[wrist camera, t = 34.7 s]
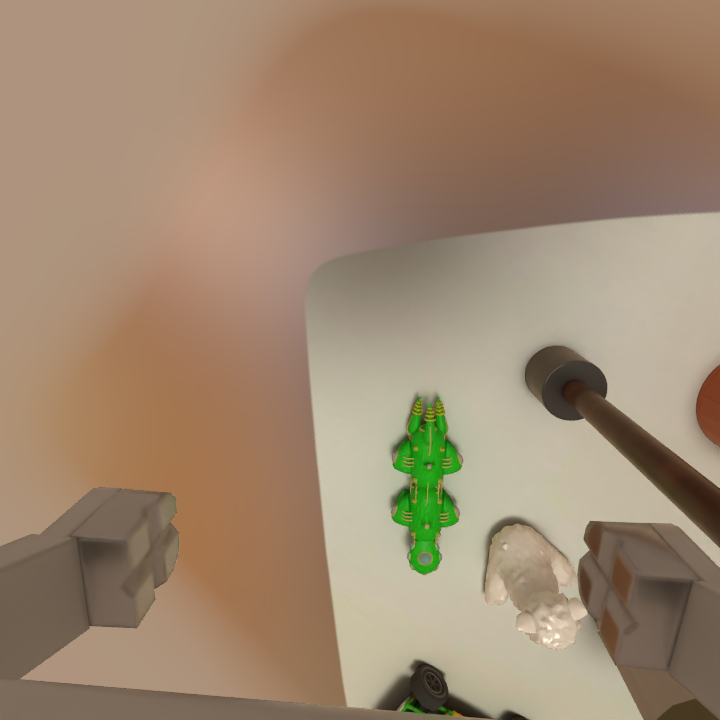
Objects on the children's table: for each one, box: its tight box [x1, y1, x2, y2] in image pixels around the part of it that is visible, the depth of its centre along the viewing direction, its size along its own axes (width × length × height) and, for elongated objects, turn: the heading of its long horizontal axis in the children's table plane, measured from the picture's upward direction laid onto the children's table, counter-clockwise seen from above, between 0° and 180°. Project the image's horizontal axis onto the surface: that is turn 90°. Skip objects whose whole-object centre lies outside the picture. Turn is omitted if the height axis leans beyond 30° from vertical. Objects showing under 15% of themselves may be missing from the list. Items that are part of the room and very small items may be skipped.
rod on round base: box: [525, 346, 720, 548], centre depth 32 cm, size 5×5×24 cm
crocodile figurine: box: [391, 397, 463, 575], centre depth 45 cm, size 7×18×4 cm, turn 0°
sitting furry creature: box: [484, 524, 588, 650], centre depth 43 cm, size 10×9×12 cm
